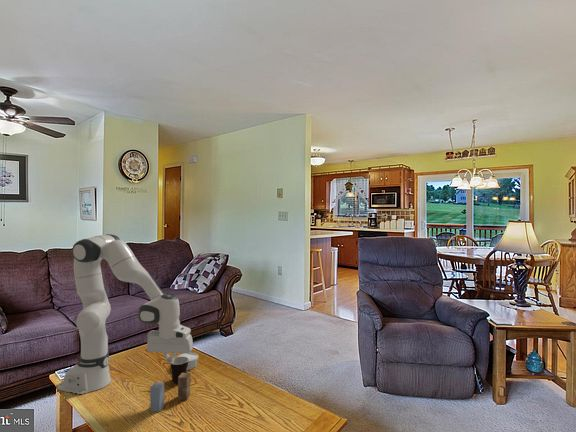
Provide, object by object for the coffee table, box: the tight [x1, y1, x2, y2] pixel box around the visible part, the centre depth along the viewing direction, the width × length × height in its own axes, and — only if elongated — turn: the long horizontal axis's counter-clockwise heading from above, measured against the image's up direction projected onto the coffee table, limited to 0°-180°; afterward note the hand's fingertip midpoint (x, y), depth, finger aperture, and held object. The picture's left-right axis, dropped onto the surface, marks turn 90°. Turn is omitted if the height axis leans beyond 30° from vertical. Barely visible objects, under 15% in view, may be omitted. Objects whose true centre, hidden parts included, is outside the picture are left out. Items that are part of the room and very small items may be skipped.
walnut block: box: [177, 372, 191, 401], centre depth 145 cm, size 4×4×10 cm
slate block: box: [149, 381, 165, 412], centre depth 137 cm, size 4×4×10 cm
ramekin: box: [176, 352, 199, 371], centre depth 174 cm, size 11×11×5 cm
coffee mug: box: [169, 356, 189, 385], centre depth 160 cm, size 12×9×10 cm
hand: (170, 361), depth 145 cm, fingers closed
